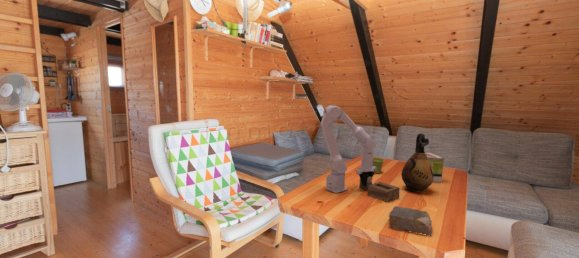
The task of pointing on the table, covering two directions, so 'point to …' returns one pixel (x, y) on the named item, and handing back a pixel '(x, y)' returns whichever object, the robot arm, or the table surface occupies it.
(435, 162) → the tea box
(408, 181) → the ceramic jug
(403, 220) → the geological specimen
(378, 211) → the table surface
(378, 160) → the plant pot
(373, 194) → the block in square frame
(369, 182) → the rectangular block end
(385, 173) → the table surface
